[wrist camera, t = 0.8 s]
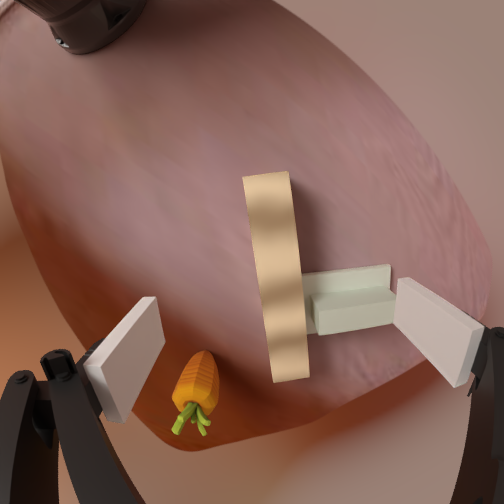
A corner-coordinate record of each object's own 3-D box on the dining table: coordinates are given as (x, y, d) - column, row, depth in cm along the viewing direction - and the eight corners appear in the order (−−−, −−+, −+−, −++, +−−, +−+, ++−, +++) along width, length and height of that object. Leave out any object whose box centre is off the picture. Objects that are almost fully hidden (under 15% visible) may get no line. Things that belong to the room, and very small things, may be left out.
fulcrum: (299, 273, 35) (309, 290, 29) (387, 263, 34) (409, 277, 29) (301, 331, 36) (310, 355, 30) (384, 318, 36) (402, 338, 30)
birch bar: (243, 179, 32) (242, 177, 27) (282, 174, 32) (288, 170, 27) (270, 358, 37) (273, 382, 32) (302, 353, 37) (309, 376, 32)
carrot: (225, 338, 36) (213, 417, 22) (223, 368, 37) (213, 448, 23) (188, 334, 36) (159, 409, 22) (188, 363, 37) (164, 441, 23)
